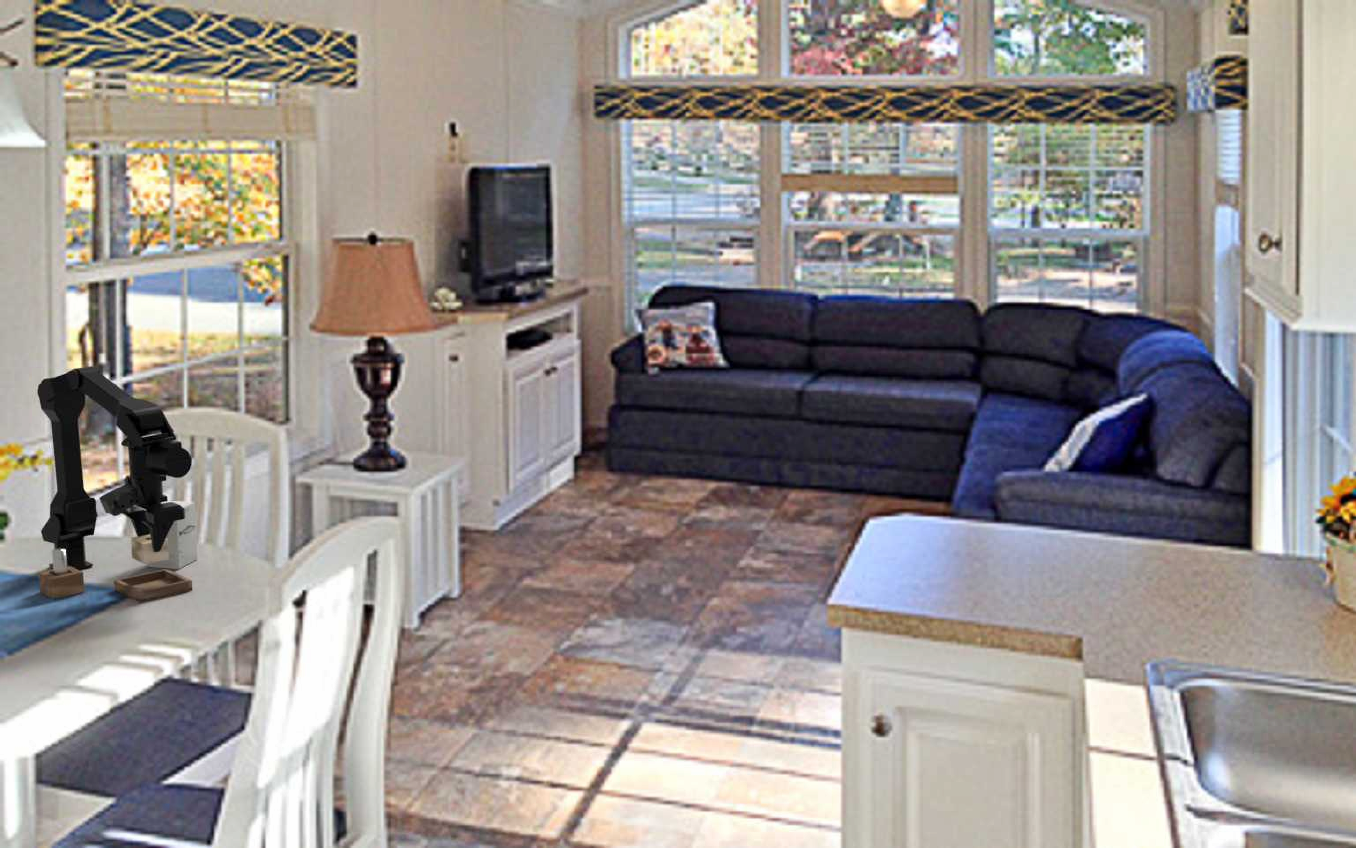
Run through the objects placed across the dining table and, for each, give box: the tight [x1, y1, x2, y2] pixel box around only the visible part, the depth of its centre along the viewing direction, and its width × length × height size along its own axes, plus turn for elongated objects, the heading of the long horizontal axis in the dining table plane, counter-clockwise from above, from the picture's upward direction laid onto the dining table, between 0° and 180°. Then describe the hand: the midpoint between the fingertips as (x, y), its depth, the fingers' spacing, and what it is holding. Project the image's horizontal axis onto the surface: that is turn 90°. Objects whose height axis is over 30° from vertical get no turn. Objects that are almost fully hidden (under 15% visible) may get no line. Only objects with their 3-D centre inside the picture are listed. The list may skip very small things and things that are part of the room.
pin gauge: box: [51, 548, 68, 576], centre depth 260 cm, size 2×2×8 cm
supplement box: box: [147, 500, 198, 570], centre depth 278 cm, size 7×7×13 cm
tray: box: [113, 568, 193, 603], centre depth 262 cm, size 11×11×2 cm
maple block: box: [130, 534, 169, 565], centre depth 261 cm, size 5×5×4 cm
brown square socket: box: [38, 566, 85, 600], centre depth 260 cm, size 6×6×4 cm
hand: (150, 548), depth 261 cm, fingers closed on maple block, 5 cm apart
